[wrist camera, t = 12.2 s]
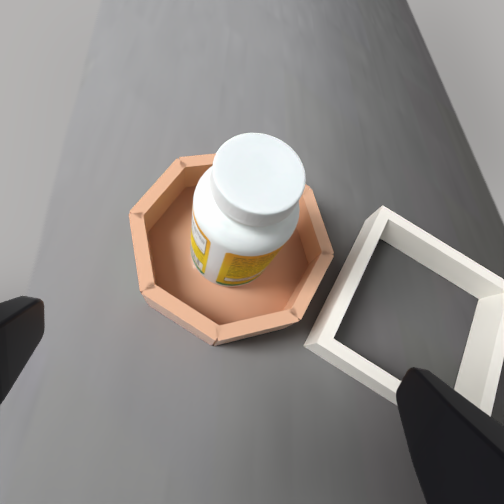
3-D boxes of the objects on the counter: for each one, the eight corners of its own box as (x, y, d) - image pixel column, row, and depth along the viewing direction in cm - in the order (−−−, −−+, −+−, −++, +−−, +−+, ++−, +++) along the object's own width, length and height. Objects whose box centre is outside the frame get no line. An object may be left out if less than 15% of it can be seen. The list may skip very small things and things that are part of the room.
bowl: (258, 376, 21) (271, 376, 17) (103, 276, 21) (87, 258, 18) (334, 234, 25) (355, 214, 22) (205, 155, 26) (207, 124, 23)
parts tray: (452, 440, 21) (483, 448, 19) (303, 346, 22) (316, 343, 20) (489, 296, 26) (519, 288, 24) (365, 220, 26) (382, 205, 24)
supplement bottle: (174, 260, 21) (165, 179, 12) (218, 202, 23) (238, 98, 15) (242, 305, 21) (284, 254, 12) (281, 242, 23) (340, 162, 14)
